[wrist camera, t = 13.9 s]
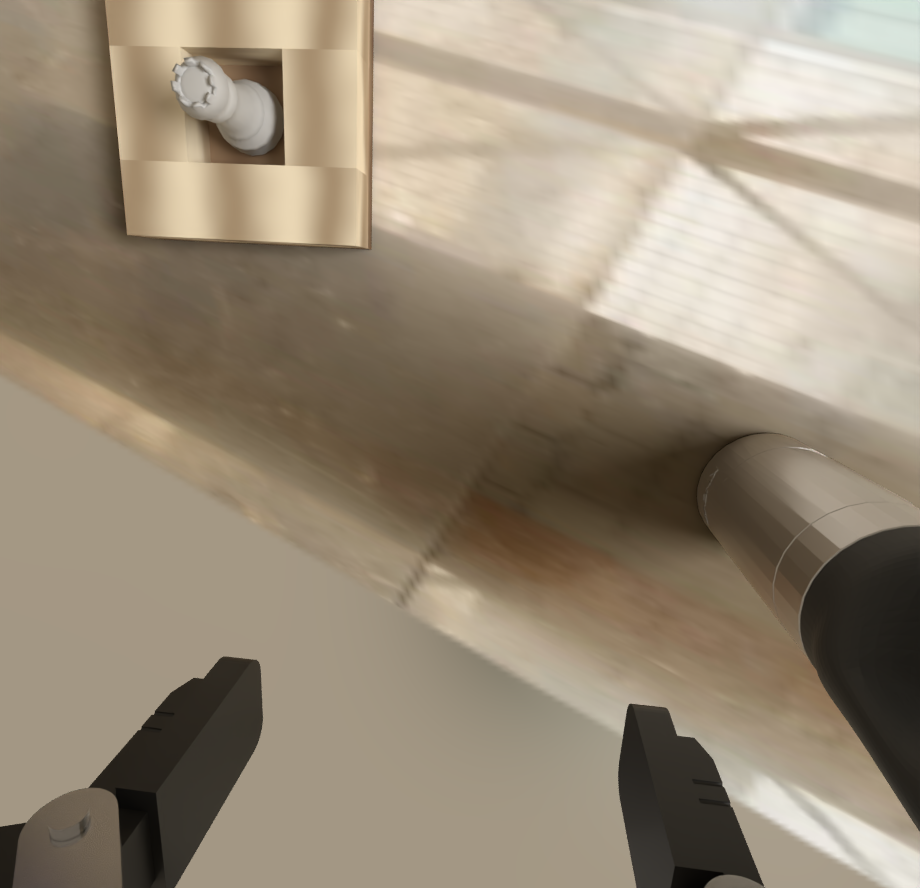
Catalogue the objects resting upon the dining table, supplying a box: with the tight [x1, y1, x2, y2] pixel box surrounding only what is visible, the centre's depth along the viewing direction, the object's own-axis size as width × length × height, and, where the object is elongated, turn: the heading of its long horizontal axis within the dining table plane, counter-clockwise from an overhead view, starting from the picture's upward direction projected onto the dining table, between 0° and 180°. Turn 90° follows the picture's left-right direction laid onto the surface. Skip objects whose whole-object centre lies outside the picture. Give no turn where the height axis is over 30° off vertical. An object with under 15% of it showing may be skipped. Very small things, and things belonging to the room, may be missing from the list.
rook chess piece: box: [170, 56, 284, 156], centre depth 36 cm, size 4×4×8 cm
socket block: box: [105, 0, 374, 249], centre depth 39 cm, size 16×16×4 cm
